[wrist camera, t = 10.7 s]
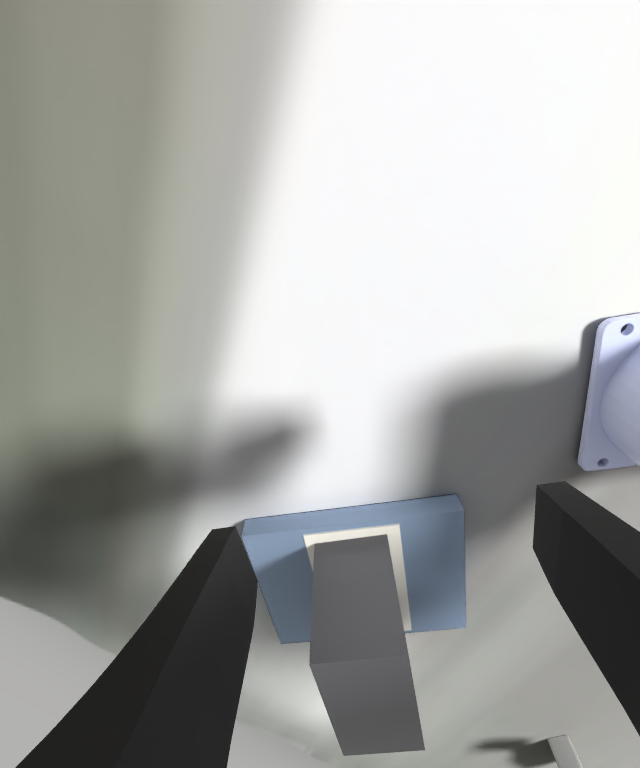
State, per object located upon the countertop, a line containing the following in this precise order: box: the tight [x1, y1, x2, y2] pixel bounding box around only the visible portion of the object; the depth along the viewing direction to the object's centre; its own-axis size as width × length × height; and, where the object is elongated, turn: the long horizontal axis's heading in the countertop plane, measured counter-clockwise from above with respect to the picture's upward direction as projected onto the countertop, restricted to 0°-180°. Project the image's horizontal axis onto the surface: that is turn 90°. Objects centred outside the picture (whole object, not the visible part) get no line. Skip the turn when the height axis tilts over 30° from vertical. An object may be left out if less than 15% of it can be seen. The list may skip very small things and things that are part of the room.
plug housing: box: [310, 534, 425, 756], centre depth 20 cm, size 4×8×6 cm, turn 12°
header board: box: [241, 494, 466, 644], centre depth 21 cm, size 12×10×4 cm
